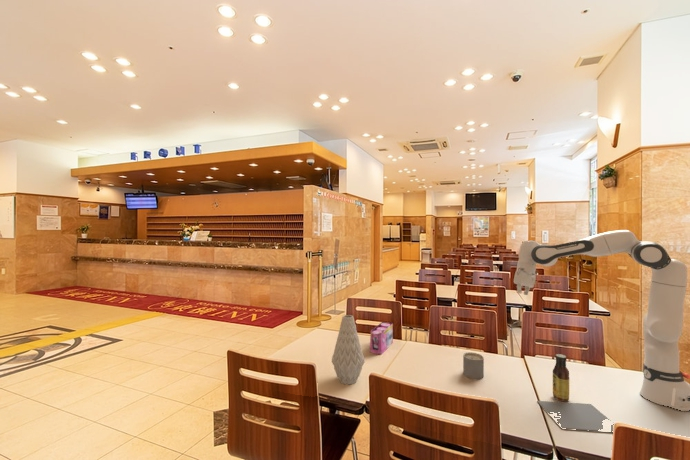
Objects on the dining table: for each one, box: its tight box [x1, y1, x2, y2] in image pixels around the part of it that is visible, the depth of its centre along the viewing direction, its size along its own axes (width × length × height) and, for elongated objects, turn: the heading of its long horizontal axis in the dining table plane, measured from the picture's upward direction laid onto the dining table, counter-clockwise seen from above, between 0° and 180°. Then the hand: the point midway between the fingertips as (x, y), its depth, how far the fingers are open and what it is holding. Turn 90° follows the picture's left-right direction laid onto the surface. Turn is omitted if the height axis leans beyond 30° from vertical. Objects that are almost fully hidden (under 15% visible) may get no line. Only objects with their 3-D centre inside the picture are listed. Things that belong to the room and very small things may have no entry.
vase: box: [331, 314, 365, 385], centre depth 158 cm, size 17×17×33 cm
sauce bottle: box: [552, 353, 570, 403], centre depth 140 cm, size 7×6×20 cm
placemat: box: [536, 400, 615, 432], centre depth 127 cm, size 22×19×1 cm
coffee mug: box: [462, 351, 485, 380], centre depth 165 cm, size 13×10×10 cm
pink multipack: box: [369, 321, 394, 355], centre depth 201 cm, size 24×8×14 cm, turn 153°
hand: (522, 294), depth 170 cm, fingers open, 8 cm apart
